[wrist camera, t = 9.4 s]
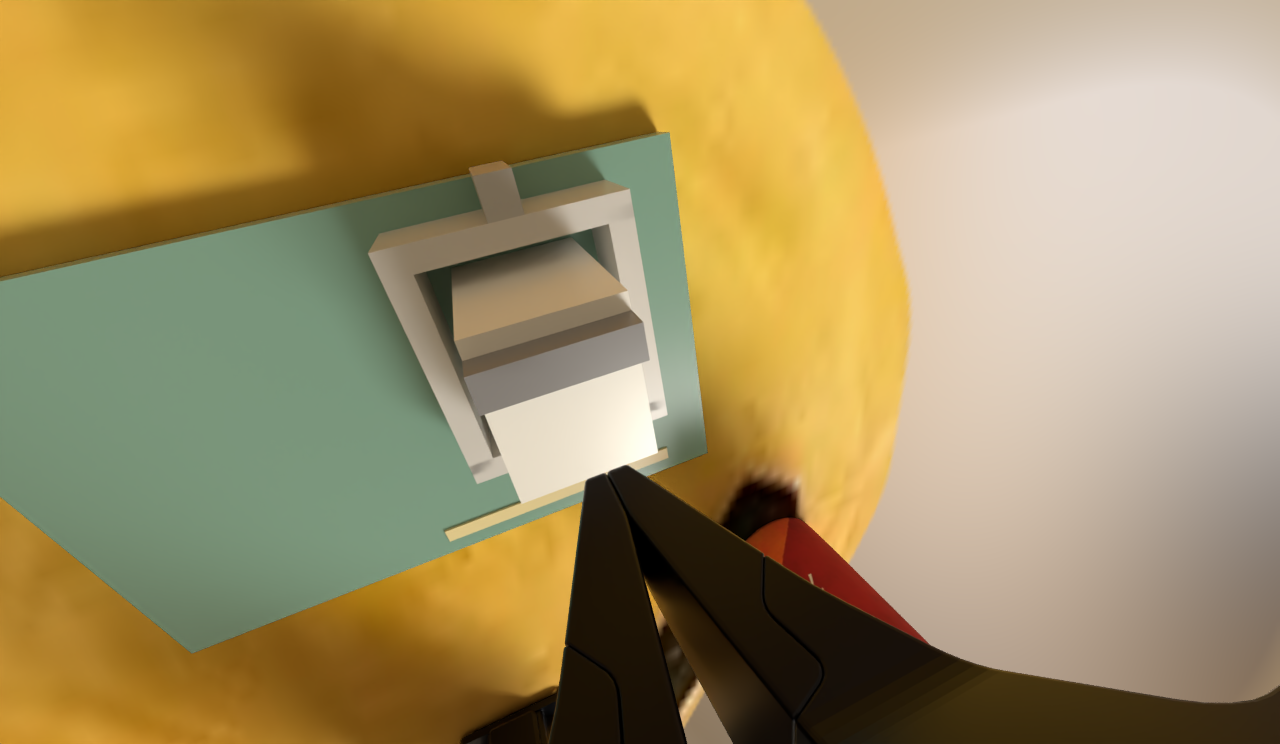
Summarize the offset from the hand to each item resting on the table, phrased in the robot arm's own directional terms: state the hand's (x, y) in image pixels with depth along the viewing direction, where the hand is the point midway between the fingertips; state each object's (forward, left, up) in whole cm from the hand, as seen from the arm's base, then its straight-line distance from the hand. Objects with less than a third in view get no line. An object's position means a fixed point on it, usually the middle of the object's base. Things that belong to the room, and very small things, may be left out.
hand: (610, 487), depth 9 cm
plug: (0, 0, -9) cm, 9 cm away
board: (-2, +5, -10) cm, 12 cm away
